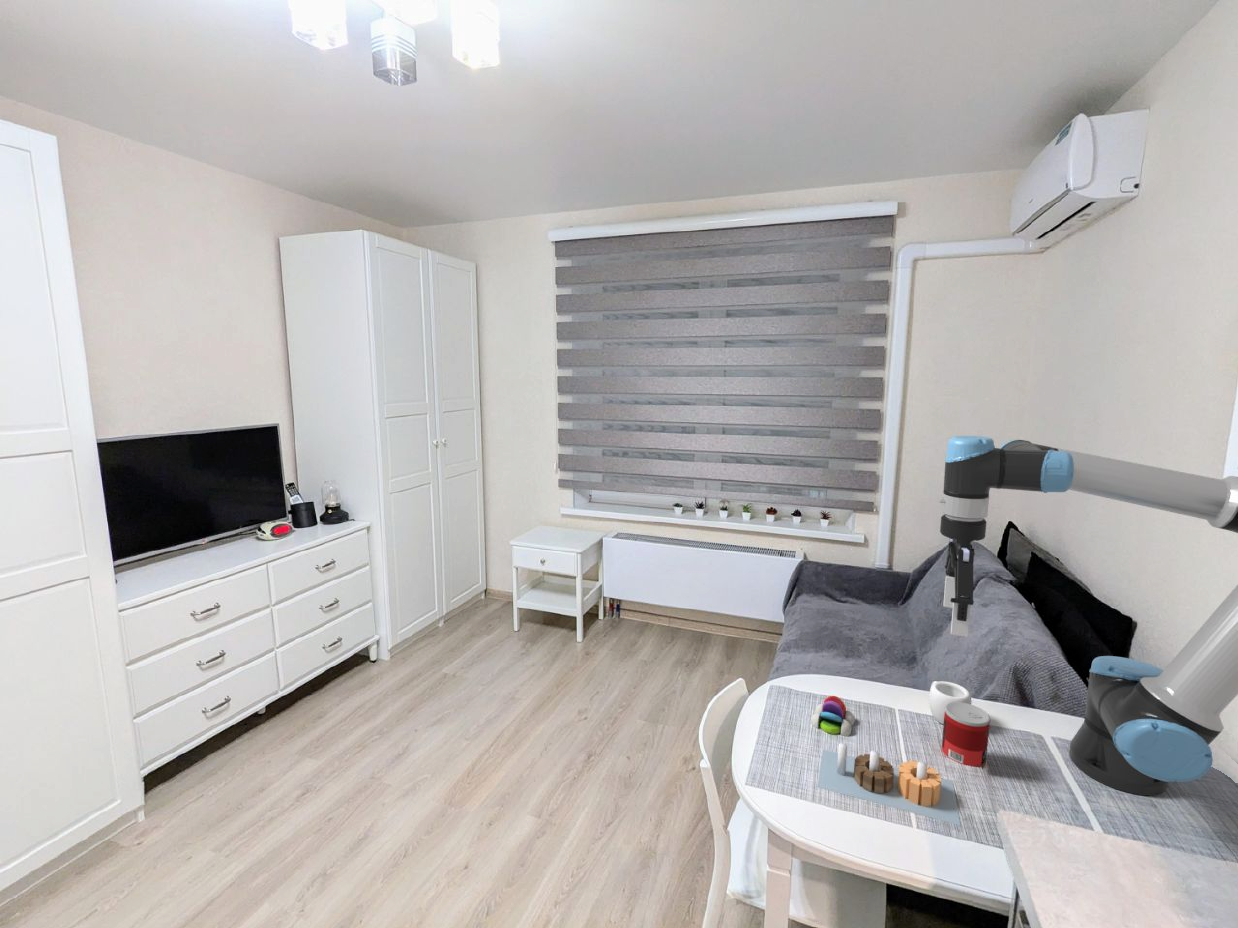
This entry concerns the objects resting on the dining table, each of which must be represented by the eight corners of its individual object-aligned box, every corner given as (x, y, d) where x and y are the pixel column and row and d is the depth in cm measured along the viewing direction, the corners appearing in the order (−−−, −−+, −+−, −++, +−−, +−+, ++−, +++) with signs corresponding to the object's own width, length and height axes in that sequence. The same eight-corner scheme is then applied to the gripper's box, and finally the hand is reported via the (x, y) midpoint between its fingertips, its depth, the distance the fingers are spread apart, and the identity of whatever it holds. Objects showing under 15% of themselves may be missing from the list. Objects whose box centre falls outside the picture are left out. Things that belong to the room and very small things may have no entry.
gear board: (952, 787, 112) (955, 753, 110) (959, 832, 101) (963, 795, 100) (822, 755, 121) (824, 723, 120) (817, 793, 111) (818, 758, 109)
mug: (977, 731, 129) (980, 699, 127) (940, 731, 129) (942, 699, 127) (947, 700, 141) (950, 671, 139) (913, 701, 141) (915, 671, 139)
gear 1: (892, 772, 114) (893, 759, 113) (893, 797, 107) (894, 783, 107) (854, 763, 116) (855, 750, 116) (853, 786, 110) (853, 772, 110)
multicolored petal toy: (856, 723, 132) (857, 694, 131) (847, 746, 124) (849, 716, 123) (818, 712, 137) (819, 684, 136) (808, 734, 129) (809, 704, 128)
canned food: (991, 775, 115) (996, 725, 113) (948, 770, 117) (952, 721, 115) (976, 750, 122) (981, 703, 121) (935, 746, 124) (939, 699, 122)
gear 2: (937, 785, 110) (939, 766, 110) (941, 811, 104) (942, 791, 103) (897, 775, 113) (898, 757, 113) (898, 799, 107) (899, 780, 106)
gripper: (935, 501, 122) (928, 594, 126) (948, 531, 100) (939, 644, 103) (976, 503, 119) (967, 599, 123) (999, 536, 97) (987, 652, 100)
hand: (954, 620), depth 113 cm, fingers open, 13 cm apart
